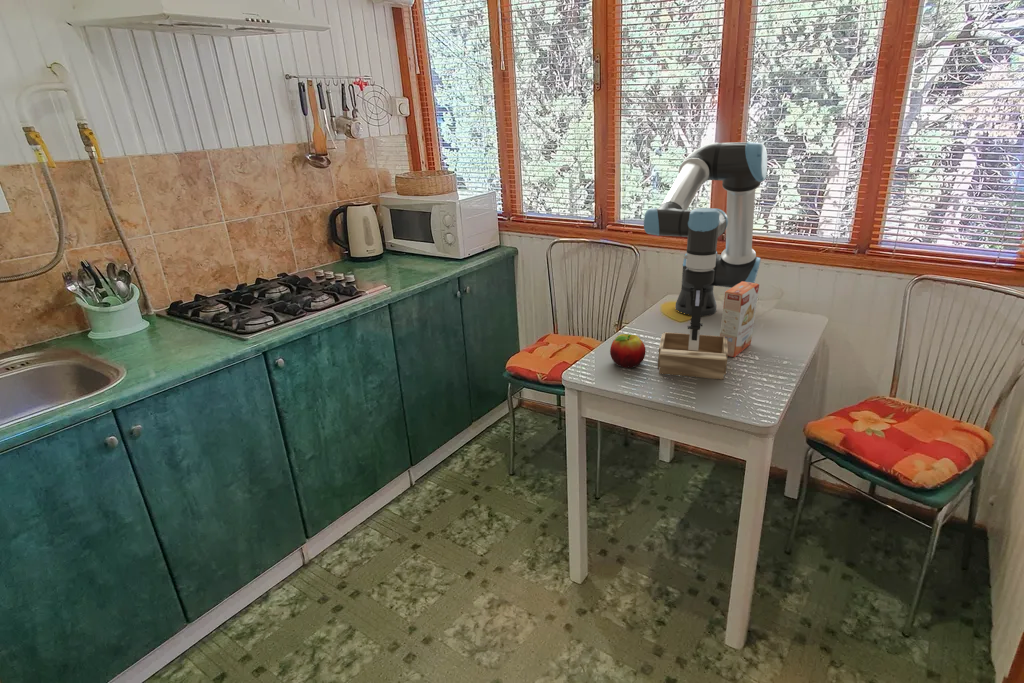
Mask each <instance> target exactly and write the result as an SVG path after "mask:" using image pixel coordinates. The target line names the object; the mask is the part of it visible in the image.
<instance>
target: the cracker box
mask: <svg viewBox="0 0 1024 683" xmlns="http://www.w3.org/2000/svg"><path fill="white" fill-rule="evenodd" d="M759 289H760V284H759V283H756V282H755V283H750V282H744V281H742V282H740V283H739V284H737V285H735V286H734V287H732V288H730V287H729V289H727V290H726V291H724V298H723V306H722V314H721V323H720V324H721V325H720V333H719V336H725V338H727V348H728V357H731V358H736V357H737V356H738V355H739V354H740V353H741V352H743V351H744V350H746V349H747V348H748V347H749V346H750V345H751V344H752V338H753V331H754V326H755V325H754V324H755V316H756V311H757V310H756V309H757V304H758V303H757V302H758V296H759Z"/></svg>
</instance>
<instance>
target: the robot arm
mask: <svg viewBox="0 0 1024 683" xmlns="http://www.w3.org/2000/svg"><path fill="white" fill-rule="evenodd" d="M766 148H767V147H766V146H765V144H763V143H762V142H752V141H746V142H745V141H744V142H742V141H741V142H712V143H706V144H705V145H702V146H701V147H698V148H697V149H695V150H694V151H692V152H691V153H689V154H688V155H687V156H686V157H685V158H684V159H683V161H682V162H681V164H680V166H679V168H678V175H677V177H676V179H675V180H674V182H673V184H672V185H671V187H670V189H669V191H668V192H667V193H666V195H665V197H664V199H663V200H662V201H661V204H660V205H659V207H651V208H648V209H646V211H645V213H644V217H643V229H644V232H645V233H646V234H648V235H653V236H657V237H659V236H661V237H662V236H663V237H664V236H665V237H681V238H687V242H686V243H687V244H686V253H684V256H683V261H682V262H683V263H682V273H681V290H680V292H679V294H678V297H677V299H676V302H675V305H674V306H675V307H674V308H676V309H675V311H676V310H678V311H679V312H682V313H685V314H689V315H688V316H691V317H690V323H689V325H687V330H689V333H688V334H689V346H688V350H697V351H698V348H699V336H700V335H701V334H700V333H701V327H703V326H704V325H703V323H701V322H702V321H701V320H702V317H705V316H711V315H714V314H715V313H716V312H717V301H716V297H715V294H714V288H715V287H721V288H729V289H730V288H732V287H734V286H735V285H737V284H739V283H740V282H742V281H744V282H750V283H756V279H757V276H758V272H759V269H760V265H761V257H758V256H757V253H756V251H755V249H754V248H753V234H754V232H753V231H754V218H755V217H754V216H755V202H756V201H755V199H756V190H757V189H758V188H759V187H760V186H761V183H762V182H764V181H766V178H767V175H768V174H767V173H768V152H767V149H766ZM707 181H722V182H721V184H722V188H723V189H724V190H725V191H726V212H725V211H724V210H722V209H720V208H714V207H713V208H711V207H698V208H694V209H689V207H690V205H691V203H692V202H693V200H694V198H695V197H696V194H697V193H698V190H699V189H700V187H701V186H703V185H704V184H705V183H706V182H707ZM724 232H725V249H723V251H722V252H721V254H718V251H717V248H718V239H719V237H720V236H721V235H723V234H724ZM679 312H678V313H679ZM682 313H681V314H682ZM685 314H684V315H685Z"/></svg>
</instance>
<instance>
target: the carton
mask: <svg viewBox="0 0 1024 683" xmlns="http://www.w3.org/2000/svg"><path fill="white" fill-rule="evenodd" d="M689 334H690V333H683V332H682V333H680V332H665V331H664V332H663V333H661V337H660V343H659V345H658V346H659V347H658V359H657V369H659V370H658V374H659V375H665V374H670V375H669V376H676V375H680V376H679V377H686V376H688V378H700V379H711V380H719V381H723V380H724V377H725V375H727V367H728V366H727V365H728V359H729V358H728V357H729V356H728V348H727V338H725V336H720V335H712V334H711V335H710V334H709V335H707V334H700V336H699V348H698V351H697V350H688V346H689ZM661 349H671V350H683V351H696V352H709V353H721V354H726V358H727V360H715V359H703V358H691V357H679V356H667V355H660V351H661Z"/></svg>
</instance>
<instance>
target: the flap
mask: <svg viewBox="0 0 1024 683" xmlns="http://www.w3.org/2000/svg"><path fill="white" fill-rule="evenodd" d="M660 355H667V356H679V357H691V358H703V359H715V360H727V361H728V358H726V354H721V353H709V352H696V351H683V350H671V349H661V351H660Z"/></svg>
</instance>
